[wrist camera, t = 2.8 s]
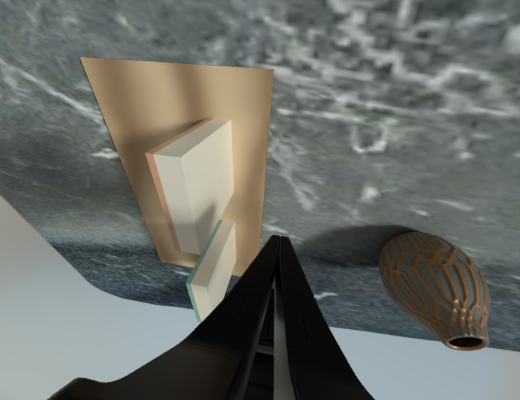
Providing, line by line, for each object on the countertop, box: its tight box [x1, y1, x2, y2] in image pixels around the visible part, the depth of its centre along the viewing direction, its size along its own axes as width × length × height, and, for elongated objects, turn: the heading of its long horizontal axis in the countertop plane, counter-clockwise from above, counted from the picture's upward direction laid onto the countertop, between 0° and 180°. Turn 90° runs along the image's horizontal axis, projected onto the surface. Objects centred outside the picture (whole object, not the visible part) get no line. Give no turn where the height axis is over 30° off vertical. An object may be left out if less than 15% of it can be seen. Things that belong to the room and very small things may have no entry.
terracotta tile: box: [145, 118, 234, 255], centre depth 14 cm, size 2×7×8 cm, turn 177°
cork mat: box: [80, 57, 274, 276], centre depth 21 cm, size 15×25×1 cm, turn 177°
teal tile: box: [186, 219, 236, 322], centre depth 21 cm, size 2×7×8 cm, turn 177°
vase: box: [379, 232, 490, 351], centre depth 16 cm, size 7×7×9 cm
